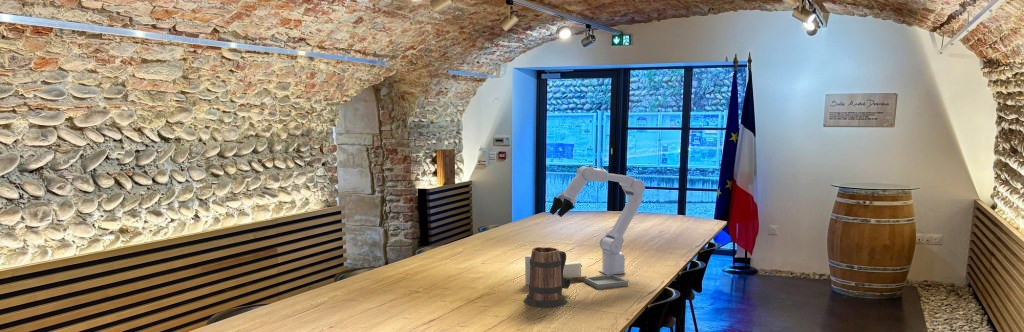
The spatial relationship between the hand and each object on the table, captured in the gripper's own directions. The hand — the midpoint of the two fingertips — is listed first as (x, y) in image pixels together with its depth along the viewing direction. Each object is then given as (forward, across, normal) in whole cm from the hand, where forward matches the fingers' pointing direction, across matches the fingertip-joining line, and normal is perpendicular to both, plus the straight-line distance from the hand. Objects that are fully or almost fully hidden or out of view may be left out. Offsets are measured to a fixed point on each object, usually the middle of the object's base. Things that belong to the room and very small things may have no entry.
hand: (555, 214), depth 275 cm
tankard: (+32, +27, +7) cm, 42 cm away
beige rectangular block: (+17, +2, +23) cm, 29 cm away
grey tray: (+11, +16, +30) cm, 36 cm away
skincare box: (+29, +4, +9) cm, 31 cm away
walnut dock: (+17, +2, +23) cm, 29 cm away
